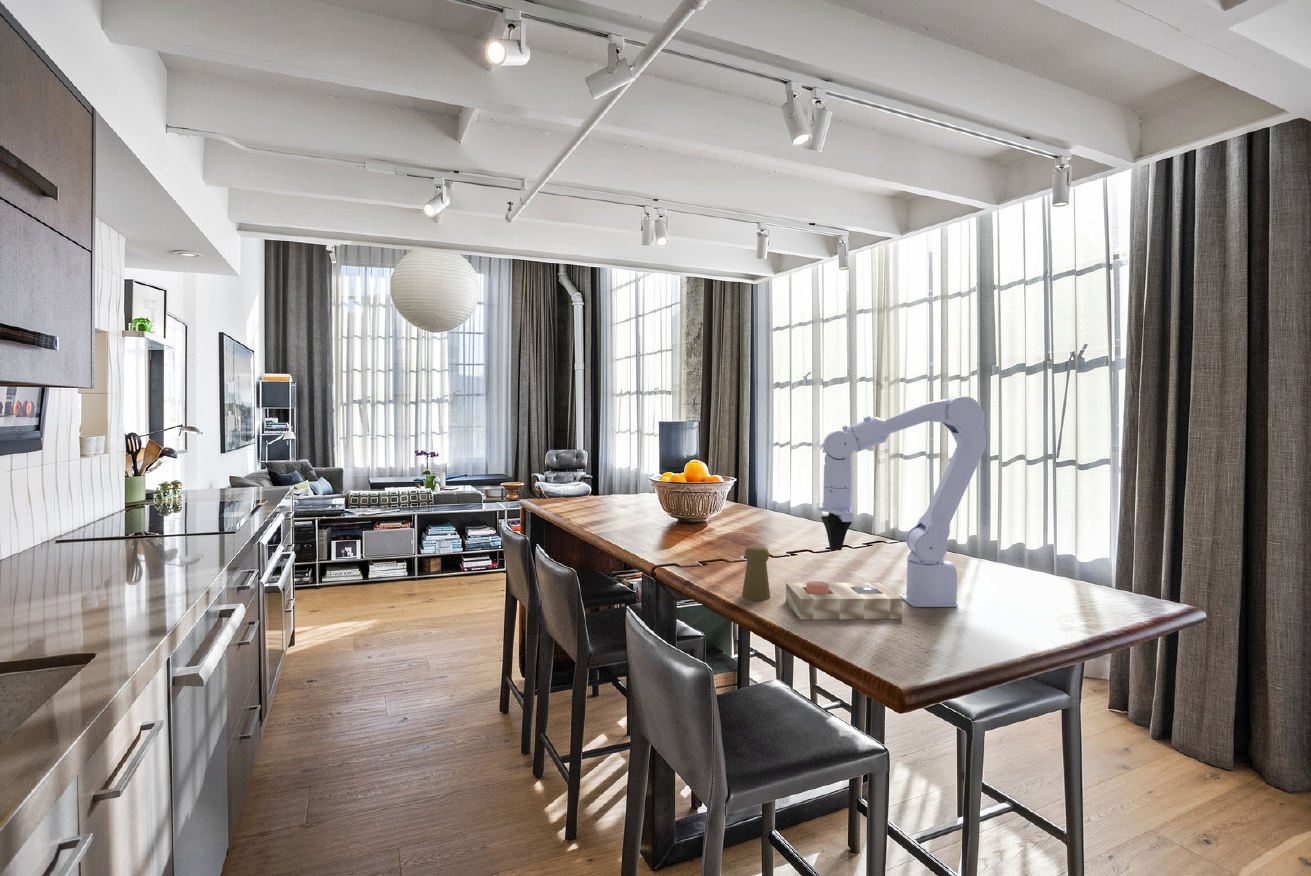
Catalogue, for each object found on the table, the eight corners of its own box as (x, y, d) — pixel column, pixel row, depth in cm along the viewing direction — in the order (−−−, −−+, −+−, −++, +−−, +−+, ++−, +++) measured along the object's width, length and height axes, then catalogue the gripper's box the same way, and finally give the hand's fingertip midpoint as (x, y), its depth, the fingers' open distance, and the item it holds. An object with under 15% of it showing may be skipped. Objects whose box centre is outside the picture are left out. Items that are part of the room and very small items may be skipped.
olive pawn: (769, 601, 142) (770, 549, 142) (741, 599, 143) (741, 548, 143) (770, 593, 148) (771, 544, 148) (743, 591, 149) (743, 542, 149)
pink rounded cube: (824, 600, 139) (825, 581, 138) (831, 606, 134) (831, 586, 134) (803, 600, 138) (804, 581, 138) (809, 606, 134) (810, 587, 134)
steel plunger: (872, 604, 139) (872, 585, 139) (880, 610, 135) (881, 590, 134) (851, 604, 139) (851, 585, 139) (858, 610, 134) (859, 590, 134)
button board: (878, 601, 143) (879, 582, 143) (902, 618, 131) (902, 598, 131) (785, 601, 142) (786, 582, 142) (800, 619, 130) (801, 599, 130)
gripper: (809, 483, 151) (808, 542, 152) (829, 491, 137) (827, 557, 138) (840, 483, 152) (838, 542, 152) (863, 491, 137) (861, 557, 138)
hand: (835, 549), depth 145 cm, fingers closed
